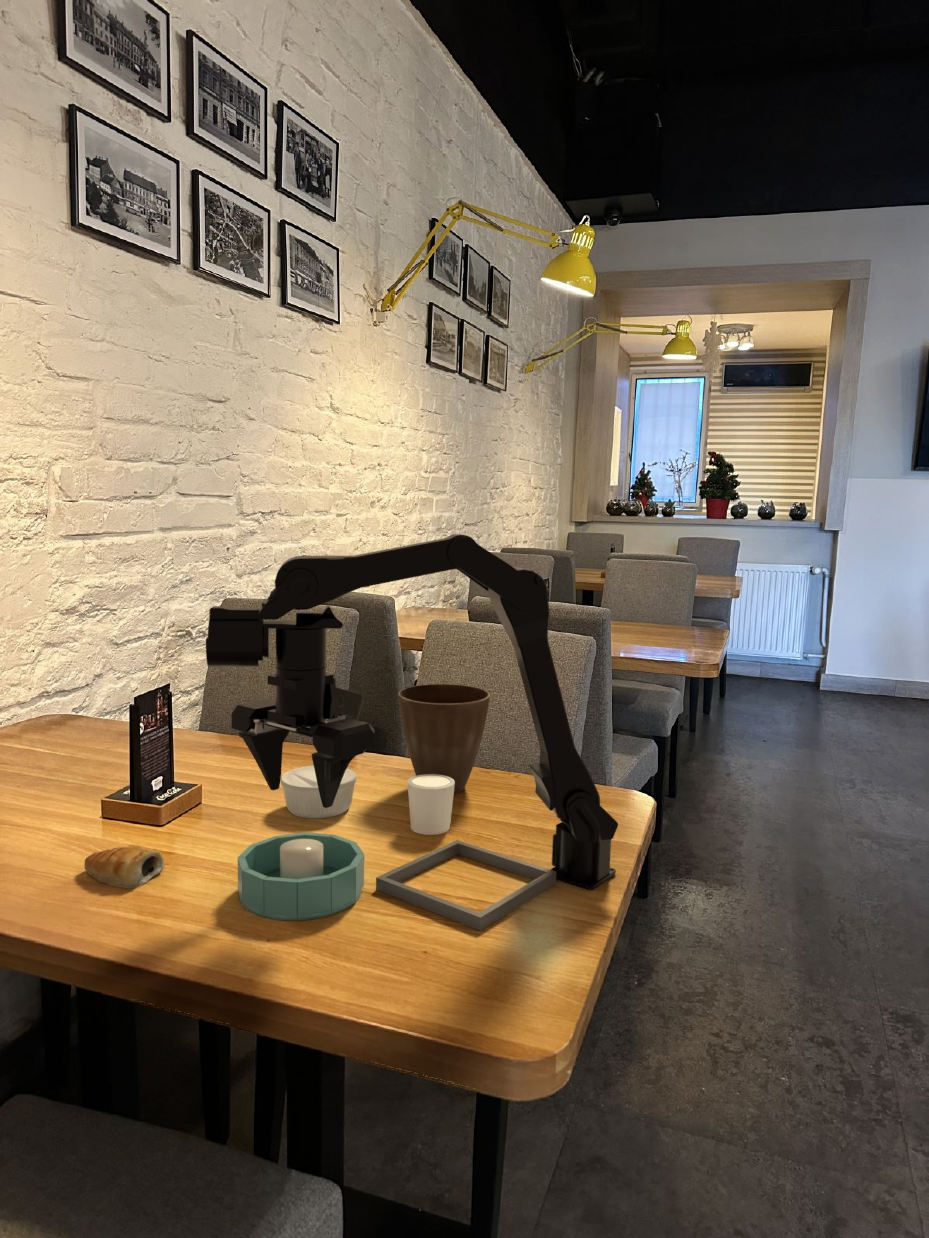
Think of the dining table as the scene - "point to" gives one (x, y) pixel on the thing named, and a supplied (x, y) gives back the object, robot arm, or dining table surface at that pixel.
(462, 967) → the dining table surface
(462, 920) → the gray square frame
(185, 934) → the dining table surface
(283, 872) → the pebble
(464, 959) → the dining table surface
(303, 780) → the ramekin
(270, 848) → the bowl
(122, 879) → the pastry
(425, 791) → the white cup
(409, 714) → the plant pot
